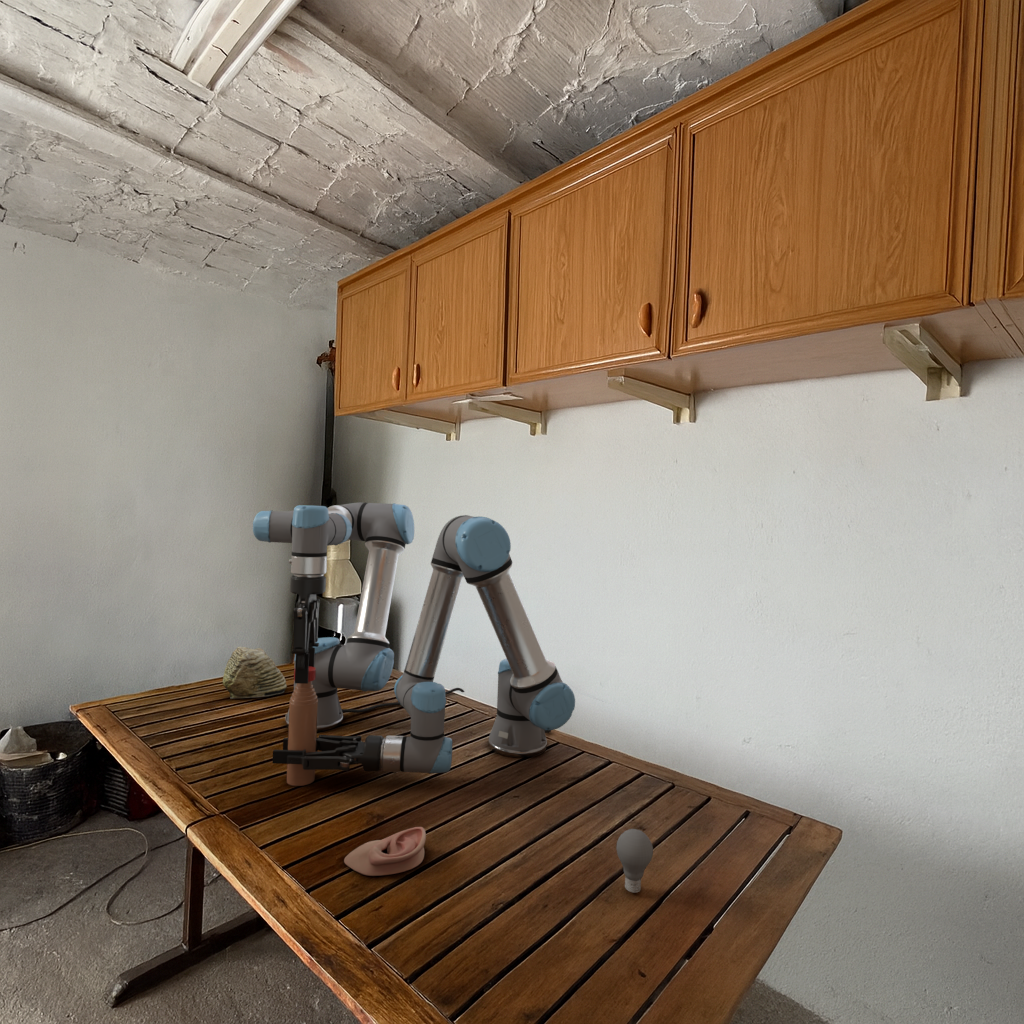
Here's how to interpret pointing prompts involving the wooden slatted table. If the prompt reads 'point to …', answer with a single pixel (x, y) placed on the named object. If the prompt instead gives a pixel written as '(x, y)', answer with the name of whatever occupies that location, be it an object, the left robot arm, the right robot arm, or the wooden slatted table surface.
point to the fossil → (252, 674)
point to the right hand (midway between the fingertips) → (278, 750)
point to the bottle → (302, 730)
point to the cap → (310, 674)
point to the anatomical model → (389, 853)
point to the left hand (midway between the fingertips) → (304, 679)
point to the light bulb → (634, 857)
